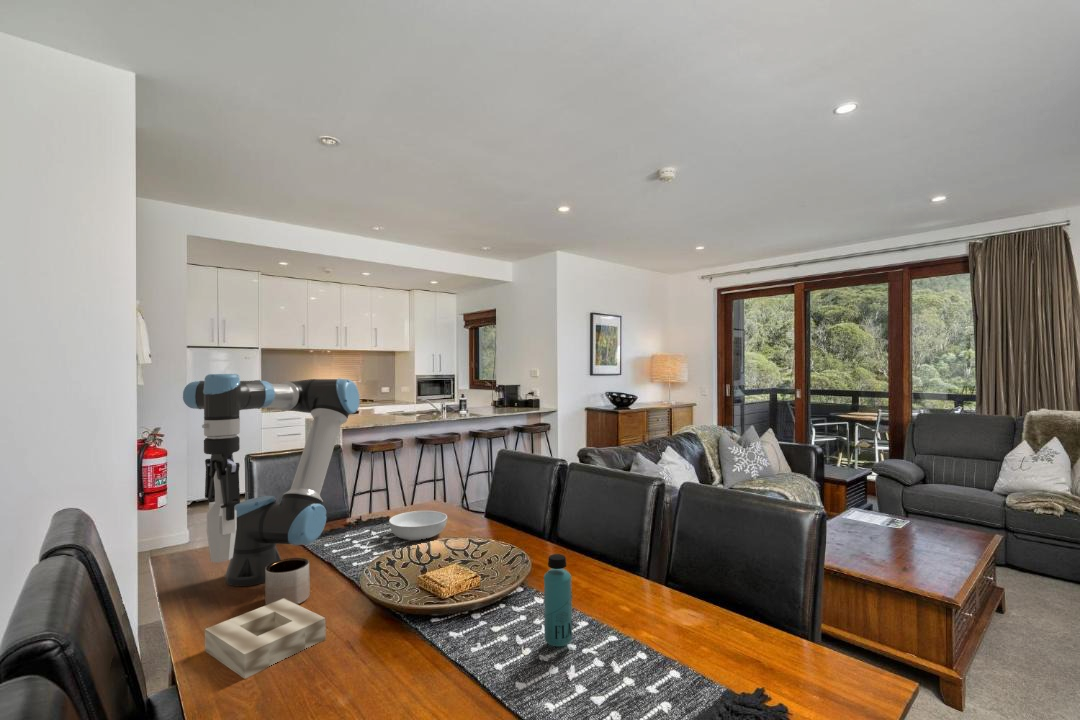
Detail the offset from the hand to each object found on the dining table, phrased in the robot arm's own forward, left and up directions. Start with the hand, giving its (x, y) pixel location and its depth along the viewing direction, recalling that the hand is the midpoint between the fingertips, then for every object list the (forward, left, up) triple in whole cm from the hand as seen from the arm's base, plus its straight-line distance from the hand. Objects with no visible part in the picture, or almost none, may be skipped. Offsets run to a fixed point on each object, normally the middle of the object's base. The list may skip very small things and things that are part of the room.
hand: (222, 530), depth 128 cm
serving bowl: (-71, -10, -24) cm, 76 cm away
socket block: (-1, +18, -23) cm, 30 cm away
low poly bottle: (0, 0, -7) cm, 7 cm away
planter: (-16, 0, -24) cm, 29 cm away
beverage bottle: (-38, +73, -23) cm, 86 cm away
